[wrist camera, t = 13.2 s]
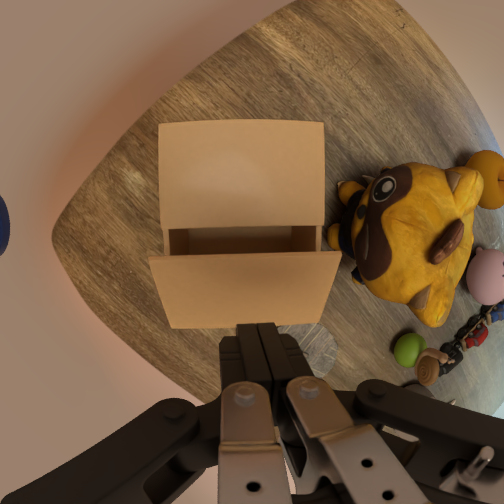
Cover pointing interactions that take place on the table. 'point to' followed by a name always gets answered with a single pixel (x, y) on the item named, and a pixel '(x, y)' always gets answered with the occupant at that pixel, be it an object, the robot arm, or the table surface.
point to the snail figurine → (419, 357)
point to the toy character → (410, 234)
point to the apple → (489, 177)
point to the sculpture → (314, 345)
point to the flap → (244, 287)
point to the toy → (486, 276)
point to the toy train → (471, 335)
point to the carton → (241, 186)
